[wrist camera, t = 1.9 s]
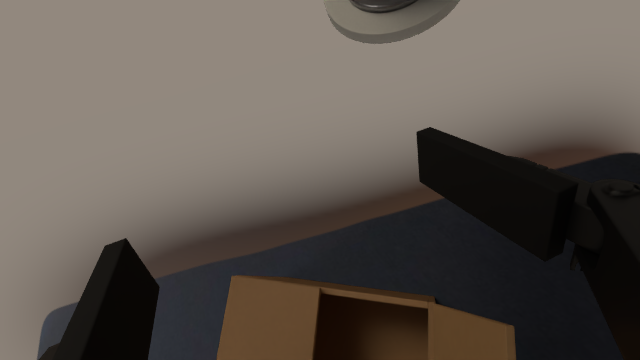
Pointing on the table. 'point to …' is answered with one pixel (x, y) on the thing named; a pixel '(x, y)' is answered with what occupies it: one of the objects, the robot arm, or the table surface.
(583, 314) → the table surface
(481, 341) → the flap
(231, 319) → the carton
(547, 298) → the table surface
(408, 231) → the table surface
